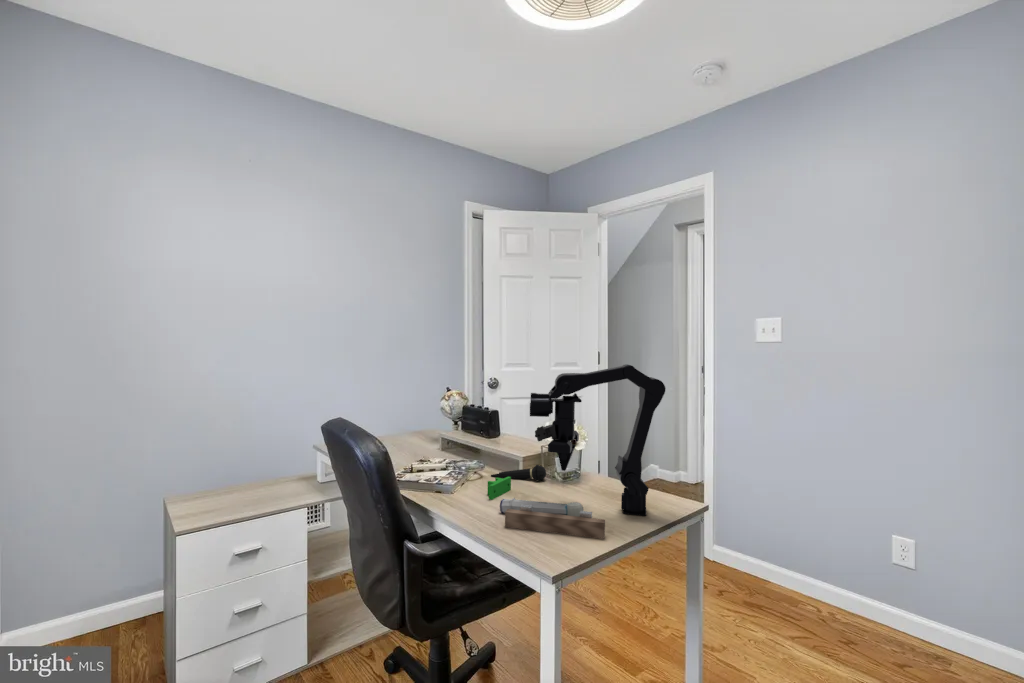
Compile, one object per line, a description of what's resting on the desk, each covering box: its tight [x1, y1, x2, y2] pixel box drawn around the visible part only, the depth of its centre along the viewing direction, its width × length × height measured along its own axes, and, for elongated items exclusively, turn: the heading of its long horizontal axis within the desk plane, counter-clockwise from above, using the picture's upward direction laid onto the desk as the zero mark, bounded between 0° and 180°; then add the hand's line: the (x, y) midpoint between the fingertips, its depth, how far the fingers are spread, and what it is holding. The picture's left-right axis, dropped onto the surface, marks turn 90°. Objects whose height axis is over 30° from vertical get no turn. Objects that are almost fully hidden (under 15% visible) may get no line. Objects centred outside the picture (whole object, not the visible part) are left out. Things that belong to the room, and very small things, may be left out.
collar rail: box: [504, 505, 606, 540], centre depth 127 cm, size 26×4×5 cm, turn 75°
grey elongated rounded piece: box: [499, 497, 584, 517], centre depth 134 cm, size 5×7×25 cm
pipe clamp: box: [487, 477, 512, 501], centre depth 155 cm, size 11×4×5 cm, turn 149°
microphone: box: [490, 464, 547, 482], centre depth 171 cm, size 6×6×20 cm
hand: (563, 470), depth 141 cm, fingers closed
